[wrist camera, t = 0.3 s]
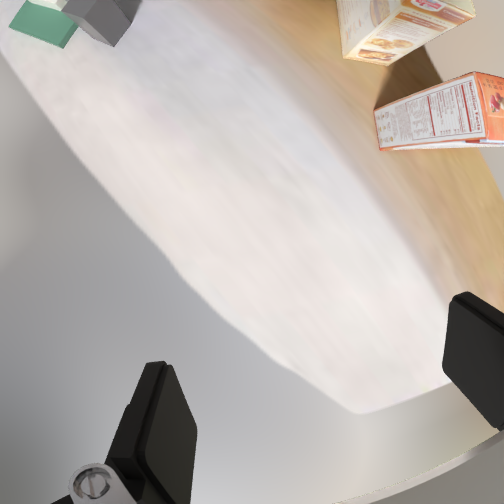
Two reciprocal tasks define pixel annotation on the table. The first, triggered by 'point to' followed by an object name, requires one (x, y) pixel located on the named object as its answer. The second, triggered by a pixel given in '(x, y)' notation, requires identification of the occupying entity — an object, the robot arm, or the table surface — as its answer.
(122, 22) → the plug
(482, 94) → the cracker box
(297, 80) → the table surface
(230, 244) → the table surface
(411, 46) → the coffeecake box
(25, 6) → the board
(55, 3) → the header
